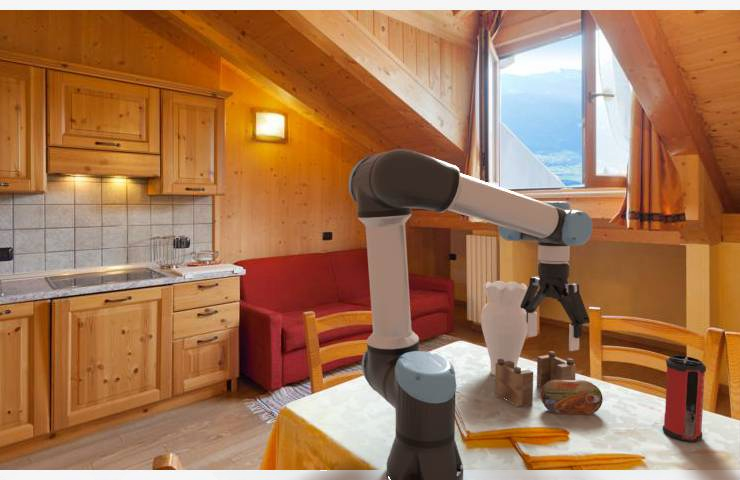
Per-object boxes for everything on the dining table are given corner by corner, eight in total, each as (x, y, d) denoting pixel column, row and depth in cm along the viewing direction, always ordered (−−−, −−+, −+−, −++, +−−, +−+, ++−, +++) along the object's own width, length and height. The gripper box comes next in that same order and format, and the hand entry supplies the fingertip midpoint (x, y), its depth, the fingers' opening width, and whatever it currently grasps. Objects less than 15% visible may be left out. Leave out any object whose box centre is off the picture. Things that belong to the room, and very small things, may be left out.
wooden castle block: (575, 395, 130) (576, 360, 129) (517, 407, 122) (518, 370, 122) (550, 383, 139) (551, 350, 138) (494, 393, 131) (495, 358, 131)
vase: (478, 379, 142) (480, 286, 140) (481, 363, 156) (482, 279, 154) (528, 384, 138) (531, 289, 136) (526, 368, 152) (529, 281, 150)
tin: (542, 413, 119) (543, 381, 118) (538, 408, 122) (539, 377, 122) (602, 415, 118) (603, 383, 117) (597, 410, 121) (598, 379, 120)
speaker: (664, 423, 113) (668, 352, 112) (703, 433, 108) (707, 358, 107) (660, 435, 107) (663, 360, 106) (700, 446, 103) (705, 367, 101)
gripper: (607, 266, 109) (604, 354, 110) (528, 256, 131) (527, 329, 133) (585, 268, 105) (583, 359, 107) (507, 257, 128) (507, 332, 129)
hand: (552, 342), depth 120 cm, fingers open, 13 cm apart
